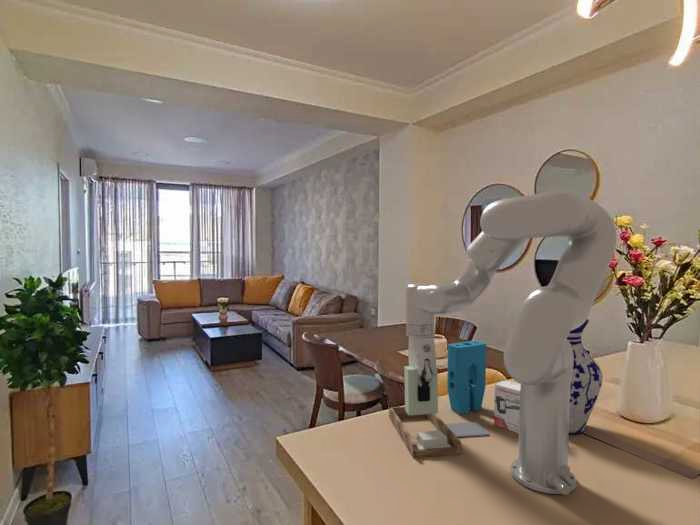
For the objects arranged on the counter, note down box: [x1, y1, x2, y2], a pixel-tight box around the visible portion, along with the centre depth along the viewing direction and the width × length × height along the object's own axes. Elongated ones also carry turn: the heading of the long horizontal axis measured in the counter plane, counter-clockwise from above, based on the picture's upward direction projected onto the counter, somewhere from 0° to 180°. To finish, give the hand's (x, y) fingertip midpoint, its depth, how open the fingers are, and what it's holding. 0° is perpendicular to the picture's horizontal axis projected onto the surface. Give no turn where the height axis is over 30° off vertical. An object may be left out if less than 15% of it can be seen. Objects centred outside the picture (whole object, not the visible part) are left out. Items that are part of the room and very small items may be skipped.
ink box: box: [493, 380, 521, 434], centre depth 112 cm, size 8×5×12 cm, turn 43°
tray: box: [388, 405, 462, 458], centre depth 108 cm, size 23×12×3 cm, turn 9°
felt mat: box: [445, 421, 491, 439], centre depth 110 cm, size 8×11×1 cm
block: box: [446, 340, 487, 415], centre depth 125 cm, size 12×5×20 cm, turn 119°
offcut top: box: [416, 429, 447, 448], centre depth 100 cm, size 4×6×2 cm, turn 103°
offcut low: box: [413, 439, 451, 449], centre depth 100 cm, size 5×8×2 cm, turn 99°
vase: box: [567, 318, 604, 436], centre depth 113 cm, size 19×19×30 cm
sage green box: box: [403, 365, 439, 415], centre depth 110 cm, size 4×8×12 cm, turn 99°
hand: (421, 397), depth 110 cm, fingers closed on sage green box, 3 cm apart
